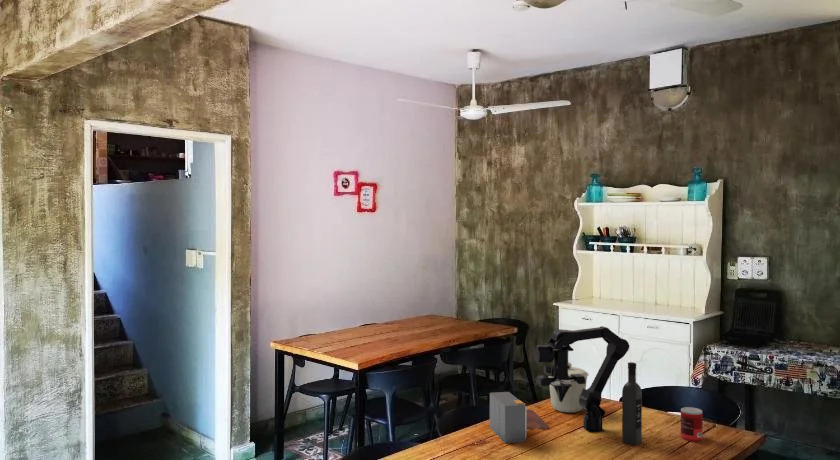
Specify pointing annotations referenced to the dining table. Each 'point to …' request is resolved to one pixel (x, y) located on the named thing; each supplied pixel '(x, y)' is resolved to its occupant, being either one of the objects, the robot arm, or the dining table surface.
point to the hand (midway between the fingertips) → (560, 401)
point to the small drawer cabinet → (507, 417)
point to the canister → (569, 393)
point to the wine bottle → (632, 409)
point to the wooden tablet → (534, 421)
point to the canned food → (691, 424)
